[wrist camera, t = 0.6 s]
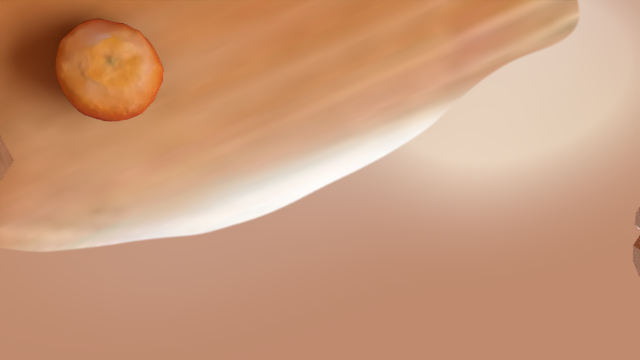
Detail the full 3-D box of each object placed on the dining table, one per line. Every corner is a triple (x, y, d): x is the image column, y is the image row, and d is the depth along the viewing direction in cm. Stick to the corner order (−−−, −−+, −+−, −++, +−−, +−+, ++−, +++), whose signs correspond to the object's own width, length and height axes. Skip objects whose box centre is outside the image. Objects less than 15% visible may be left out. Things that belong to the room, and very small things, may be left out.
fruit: (43, 111, 47) (38, 92, 40) (72, 26, 48) (72, -7, 41) (139, 141, 50) (150, 128, 43) (163, 60, 52) (179, 34, 44)
